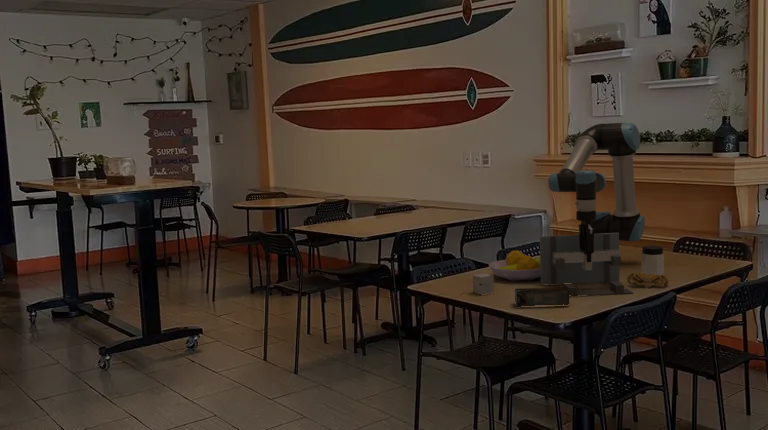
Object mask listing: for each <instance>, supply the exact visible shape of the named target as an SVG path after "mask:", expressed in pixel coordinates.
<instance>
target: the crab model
mask: <svg viewBox="0 0 768 430" xmlns="http://www.w3.org/2000/svg"><path fill="white" fill-rule="evenodd" d="M626 280H627V283H628V284H629V285H631V286H633V283H634V284H636V285H639V286H643V287H644V288H645V290H646V289H647V290H648V289H650V288H651V287H652V286H654V287H661V286H664V288H667V287H668V284H669V280H668V278H667V277H666V275H665V274H664V275H655V274H650V273H642V272H640V273H634V272H631V273H630V274H629V275H628V276H627V277H626ZM630 280H631V281H632V282H633V283H632V282H631V281H630ZM659 282H660V283H659Z"/></svg>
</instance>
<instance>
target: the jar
mask: <svg viewBox="0 0 768 430" xmlns="http://www.w3.org/2000/svg"><path fill="white" fill-rule="evenodd" d="M641 249H642V252H641V260H640V261H641V273H650V274H655V275H664V276H665V253H664V247H663V246H661V245H645V246H642V248H641Z"/></svg>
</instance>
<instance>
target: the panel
mask: <svg viewBox="0 0 768 430" xmlns="http://www.w3.org/2000/svg"><path fill="white" fill-rule="evenodd" d="M604 249H619V250H620V241H619V233H602V234H594V250H604ZM563 251H581V249H580V242H579V234H567V235H565V234H564V235H563V234H561V235H546V236H543V235H540V236H539V253H540V254H539V257H540V271H541V277H540V286H543V285H542V284H559V285H564V283H579V284H595V283H596V284H597V283H610V282H616V281H618V282H620V267H621V266H622V265H621V264H622V263H621V262H622V255H621V256H612V261H598V262H592V270H585V268H582V262H577V263H565V259H557V264H555V263H554V262H553V252H563Z"/></svg>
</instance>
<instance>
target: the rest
mask: <svg viewBox="0 0 768 430" xmlns="http://www.w3.org/2000/svg"><path fill="white" fill-rule="evenodd" d="M563 287H566V288H567V290H568V291H569V295H571V296H578V295H600V296H612V295H613V296H614V295H615V296H616V295H617V294H620V295H633V294H634V292H633V291H631V290H630V289H629V288H625V284H623V283H621V282H620V281H619V282H618V281H616V282H609V288H610V289H590V290H578V287H577V286H576V285H575V284H563Z"/></svg>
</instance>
